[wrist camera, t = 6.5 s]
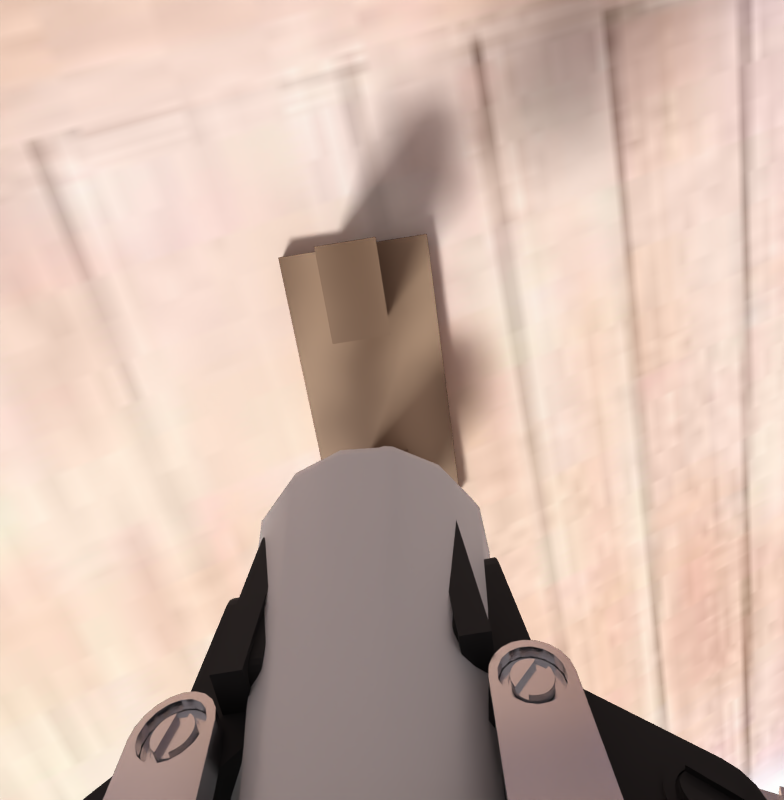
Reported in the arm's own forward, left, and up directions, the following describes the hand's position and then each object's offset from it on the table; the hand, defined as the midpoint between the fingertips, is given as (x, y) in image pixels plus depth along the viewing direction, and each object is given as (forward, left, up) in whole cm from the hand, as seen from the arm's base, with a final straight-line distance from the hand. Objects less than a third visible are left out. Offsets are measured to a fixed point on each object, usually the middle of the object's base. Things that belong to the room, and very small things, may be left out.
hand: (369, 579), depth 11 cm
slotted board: (0, 0, -18) cm, 18 cm away
